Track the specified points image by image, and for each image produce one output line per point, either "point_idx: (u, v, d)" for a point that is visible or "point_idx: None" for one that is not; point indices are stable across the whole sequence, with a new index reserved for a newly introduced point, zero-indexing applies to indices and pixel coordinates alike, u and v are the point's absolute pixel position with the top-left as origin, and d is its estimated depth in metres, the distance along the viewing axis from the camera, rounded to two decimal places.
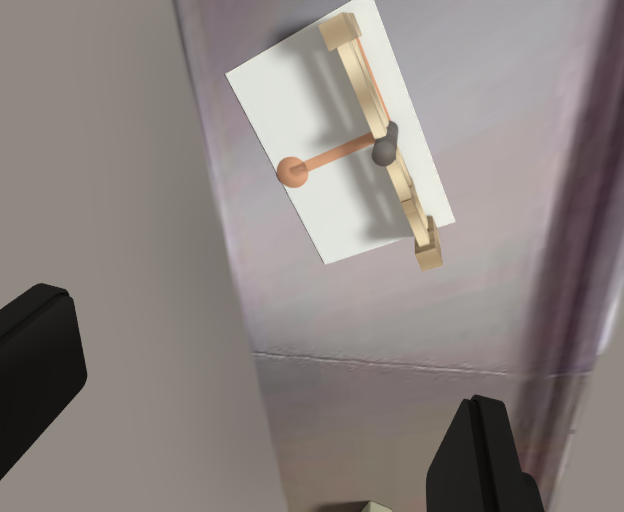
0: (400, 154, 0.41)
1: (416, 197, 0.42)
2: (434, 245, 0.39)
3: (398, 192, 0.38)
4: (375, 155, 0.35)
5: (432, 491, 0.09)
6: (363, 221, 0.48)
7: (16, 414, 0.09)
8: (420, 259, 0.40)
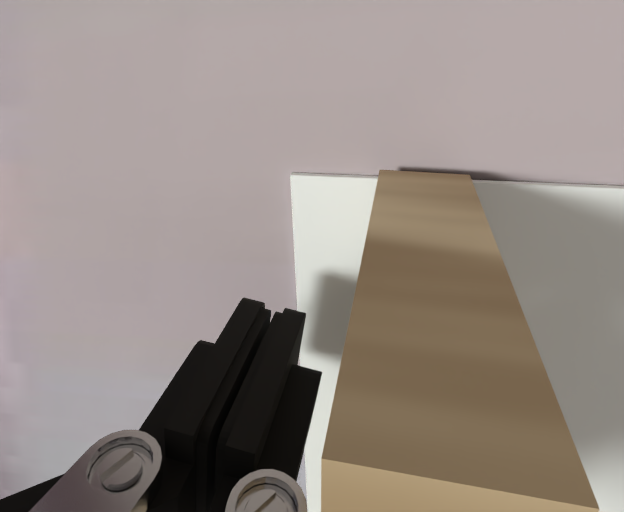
0: None
1: None
2: None
3: None
4: None
5: None
6: None
7: None
8: None
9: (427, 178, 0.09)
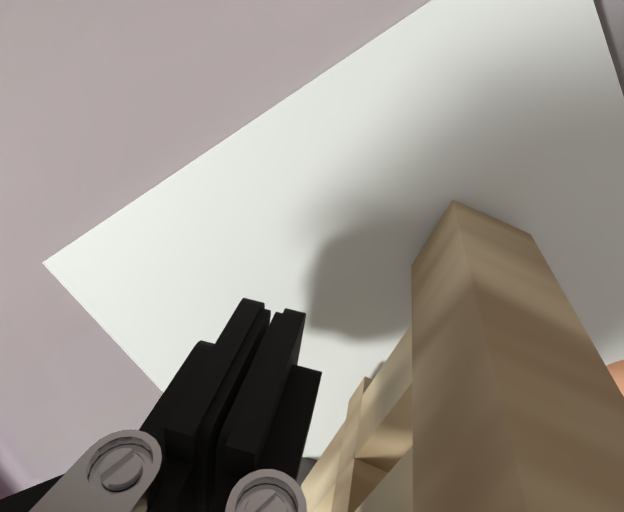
0: None
1: (360, 441, 0.10)
2: None
3: None
4: None
5: None
6: (339, 237, 0.11)
7: None
8: None
9: (497, 225, 0.09)
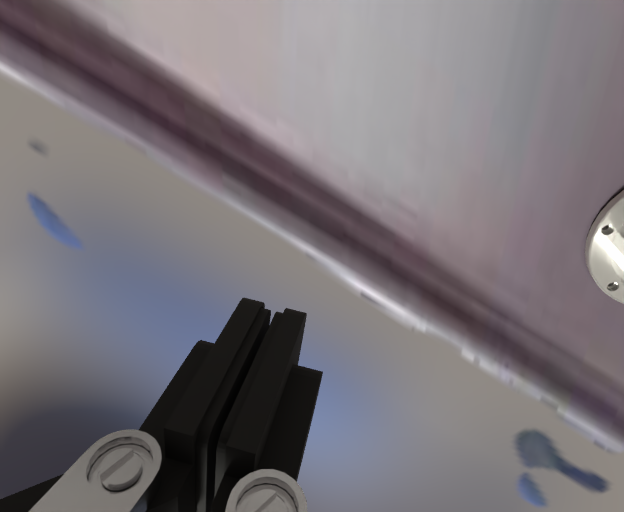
0: None
1: None
2: None
3: None
4: None
5: None
6: None
7: None
8: None
9: None
